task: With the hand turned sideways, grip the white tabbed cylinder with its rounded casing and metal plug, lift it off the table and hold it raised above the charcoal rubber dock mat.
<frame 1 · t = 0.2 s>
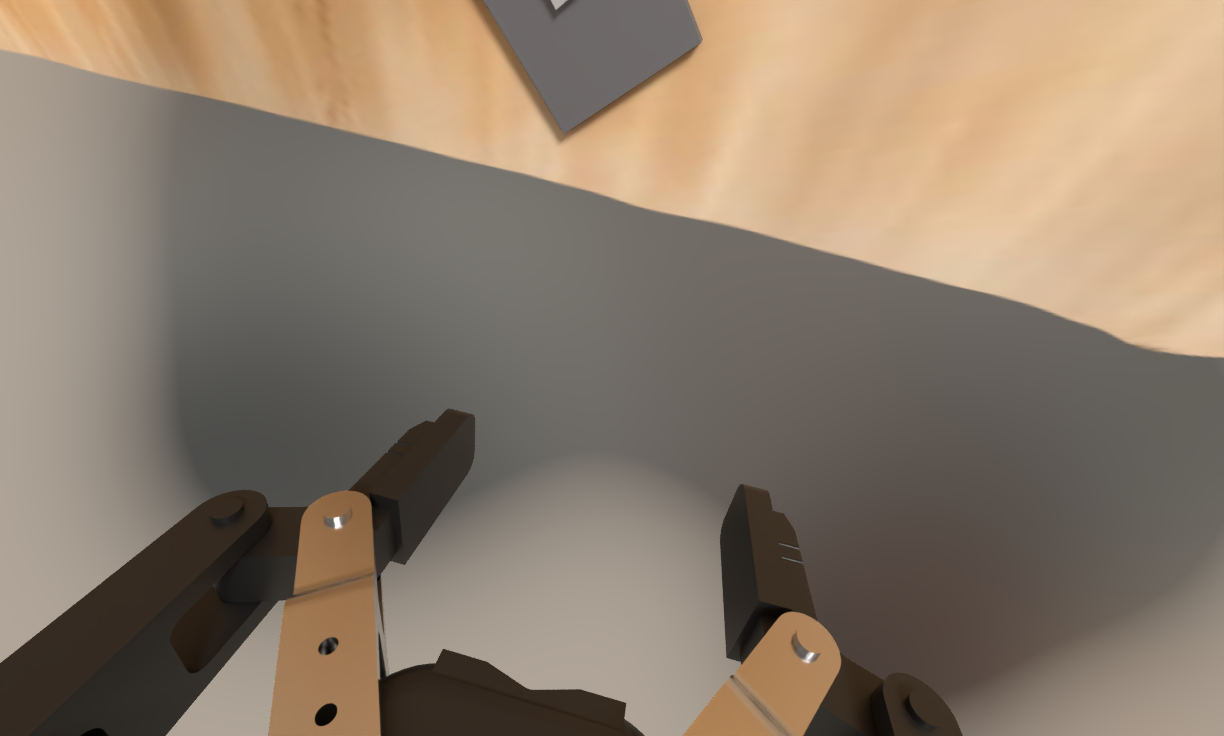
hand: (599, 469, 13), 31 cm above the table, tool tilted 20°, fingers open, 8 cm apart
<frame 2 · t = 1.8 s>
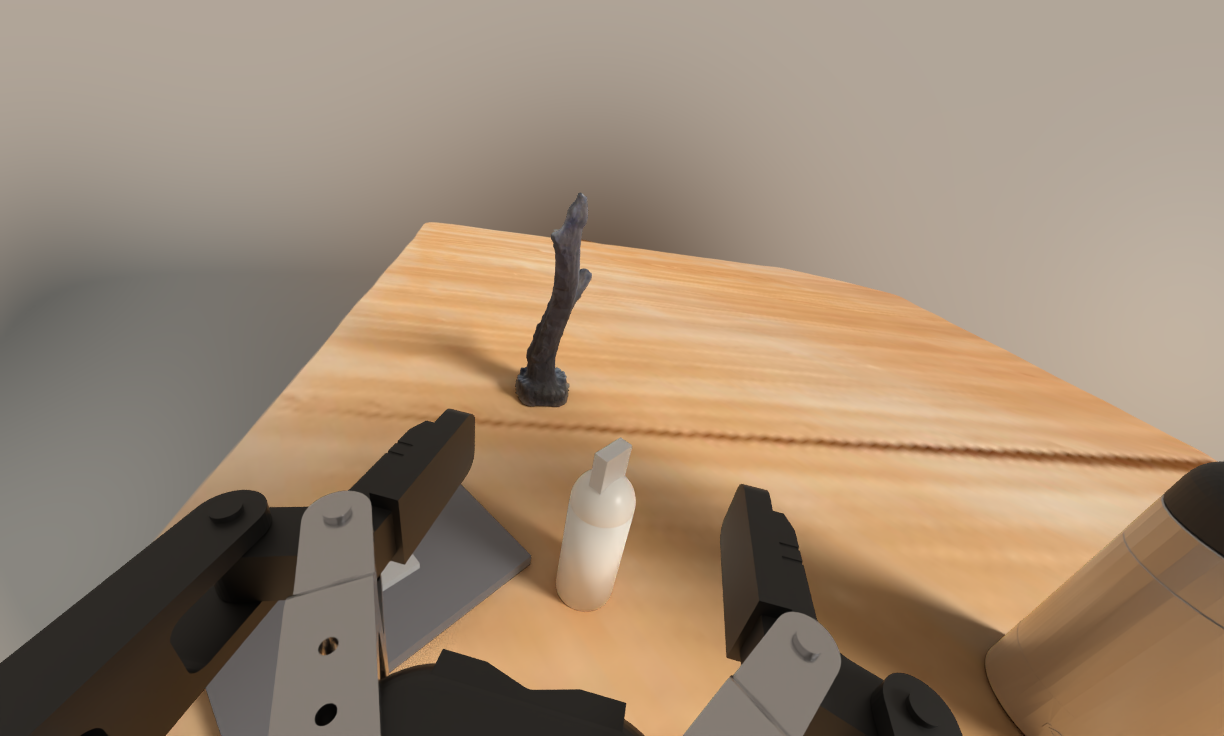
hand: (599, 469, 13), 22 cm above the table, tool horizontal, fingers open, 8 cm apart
bare tree trunk: (547, 400, 53), on the table
dock mat: (375, 584, 30), on the table
white tabbed cylinder: (584, 583, 33), on the table
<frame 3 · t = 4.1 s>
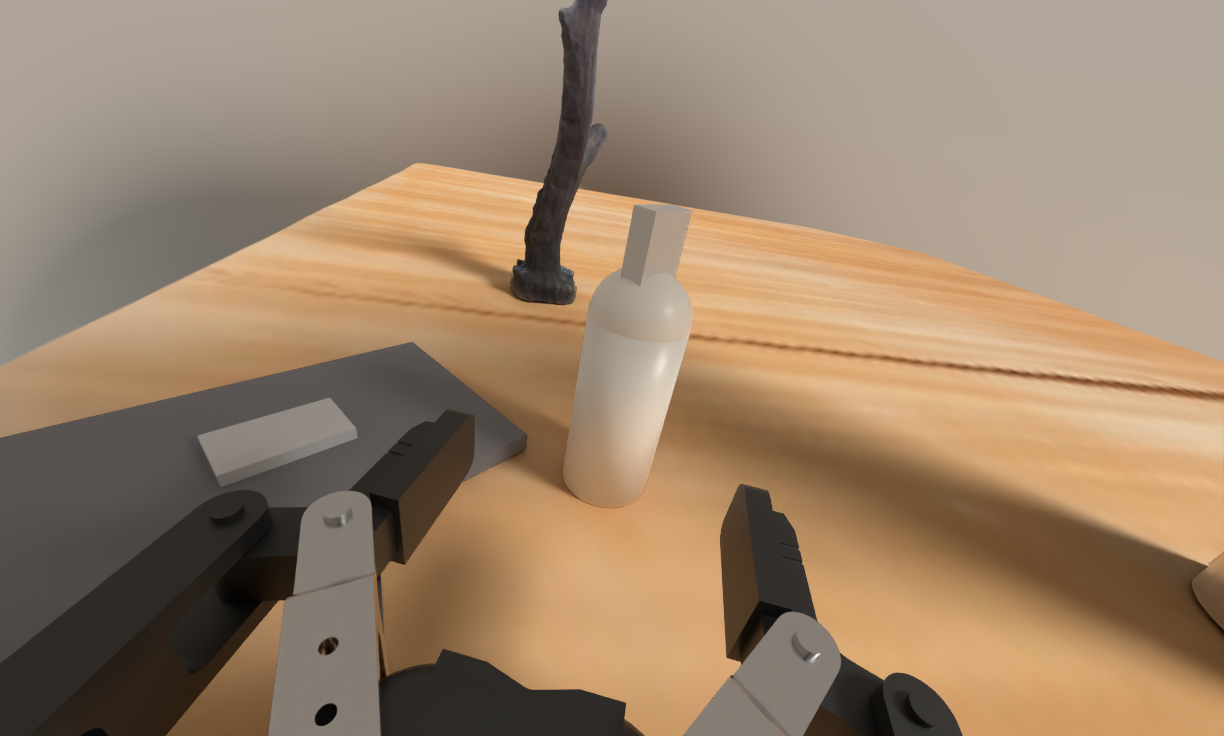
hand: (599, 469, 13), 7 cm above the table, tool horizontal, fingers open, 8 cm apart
bare tree trunk: (550, 299, 43), on the table
dock mat: (287, 458, 20), on the table
white tabbed cylinder: (604, 475, 23), on the table
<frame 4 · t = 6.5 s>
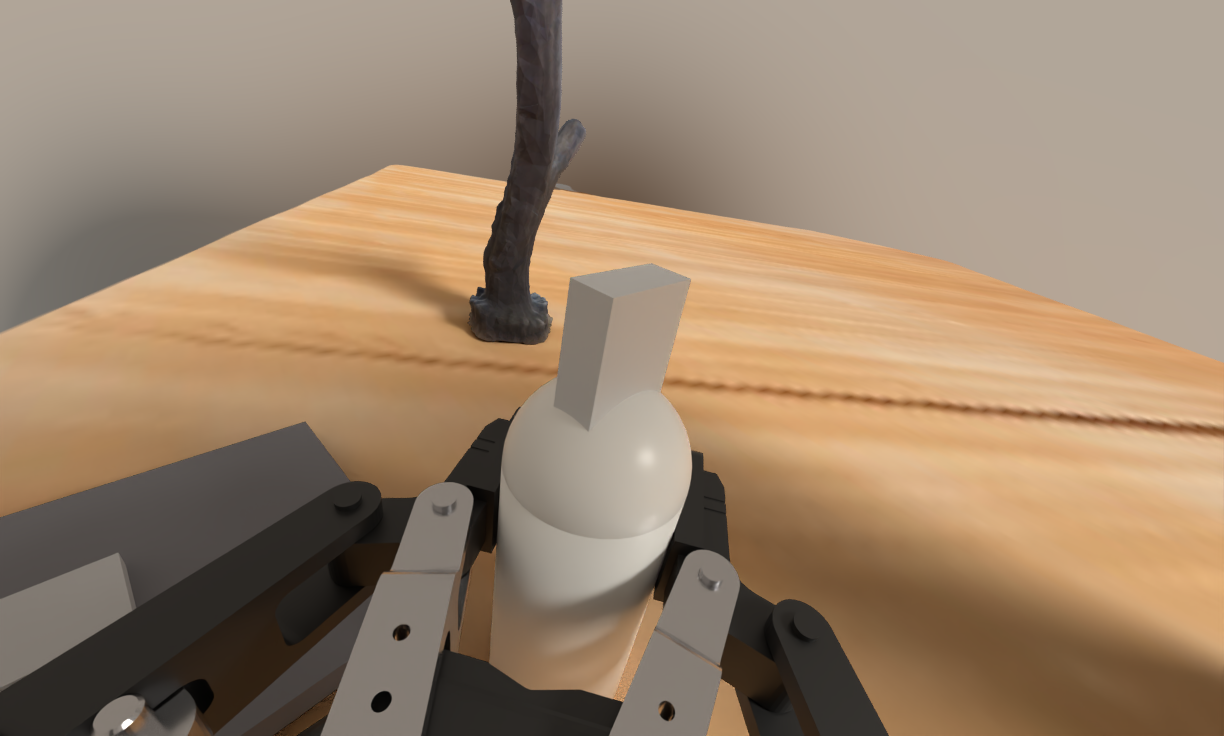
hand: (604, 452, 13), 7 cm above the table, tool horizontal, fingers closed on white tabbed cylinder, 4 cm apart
bare tree trunk: (517, 336, 35), on the table
dock mat: (16, 678, 12), on the table
white tabbed cylinder: (556, 660, 15), on the table, touching gripper
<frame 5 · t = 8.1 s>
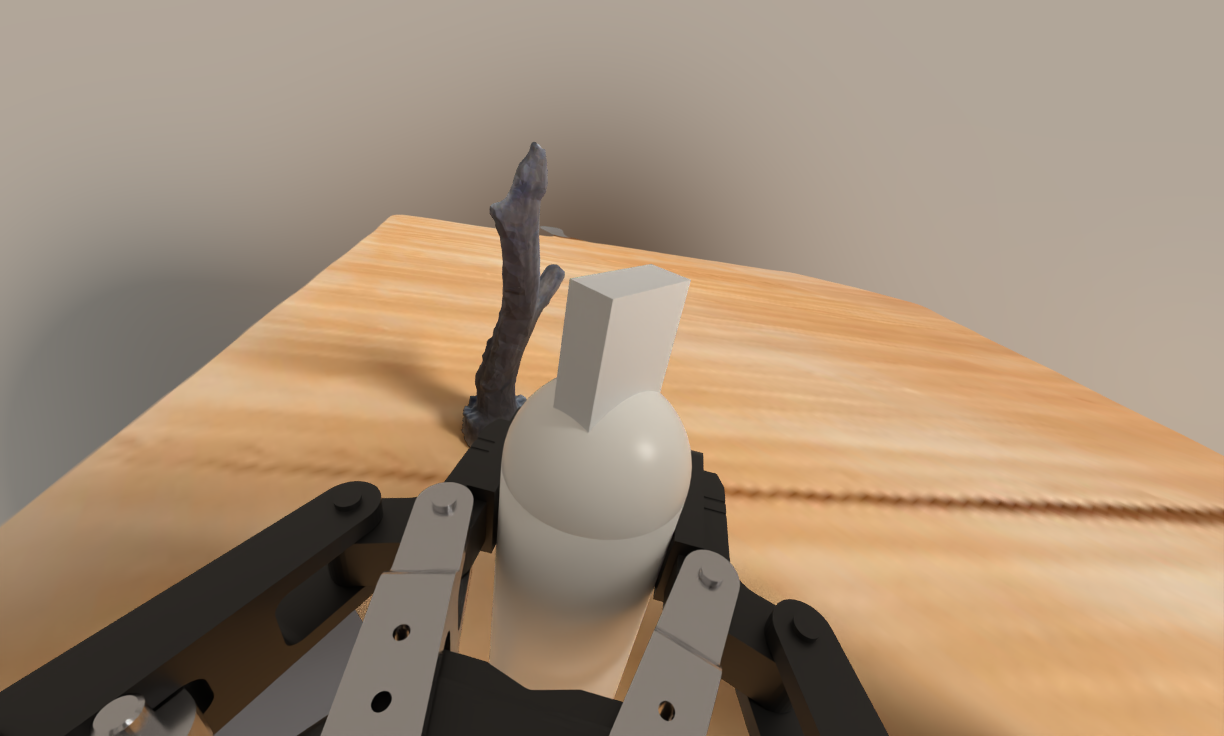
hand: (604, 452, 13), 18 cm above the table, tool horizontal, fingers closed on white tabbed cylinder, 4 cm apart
bare tree trunk: (505, 440, 40), on the table
white tabbed cylinder: (556, 660, 15), point 11 cm above the table, touching gripper
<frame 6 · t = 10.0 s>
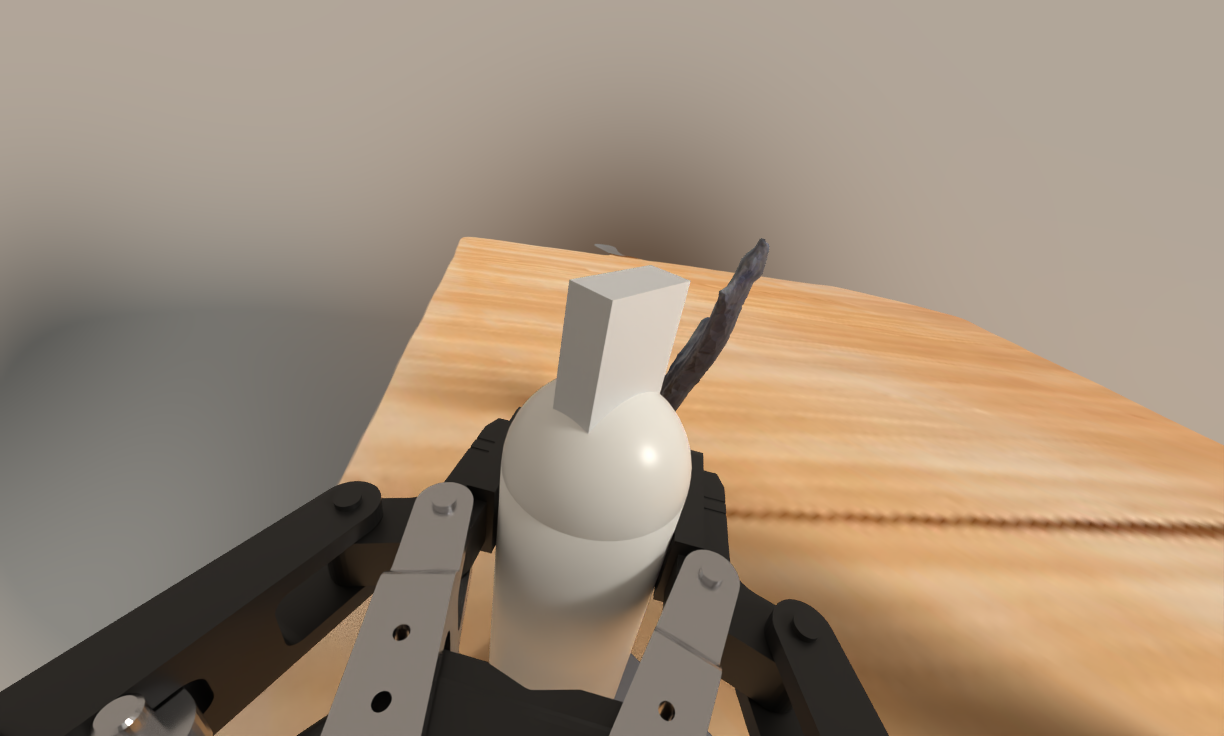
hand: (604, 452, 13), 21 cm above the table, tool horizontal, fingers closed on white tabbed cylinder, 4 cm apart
bare tree trunk: (654, 471, 44), on the table
white tabbed cylinder: (555, 661, 15), point 14 cm above the table, touching gripper
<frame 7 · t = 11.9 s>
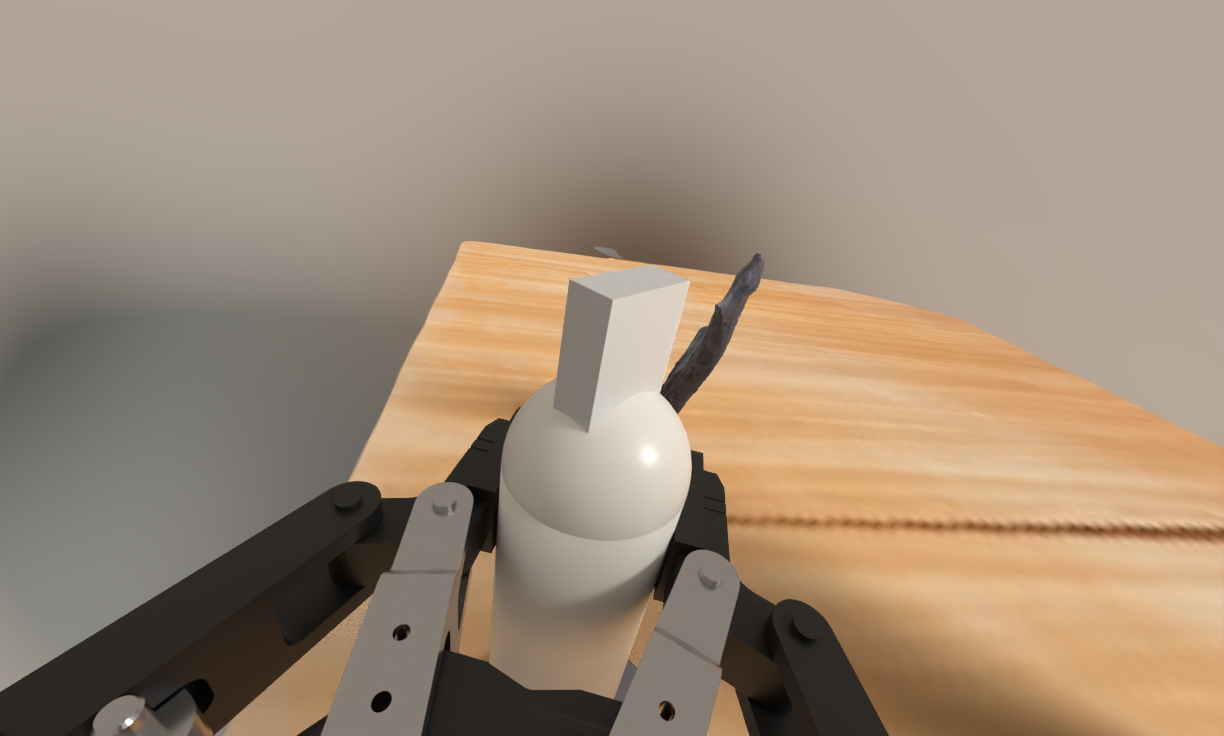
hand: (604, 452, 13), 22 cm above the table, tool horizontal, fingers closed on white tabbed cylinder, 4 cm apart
bare tree trunk: (653, 478, 45), on the table
white tabbed cylinder: (556, 661, 15), point 15 cm above the table, touching gripper
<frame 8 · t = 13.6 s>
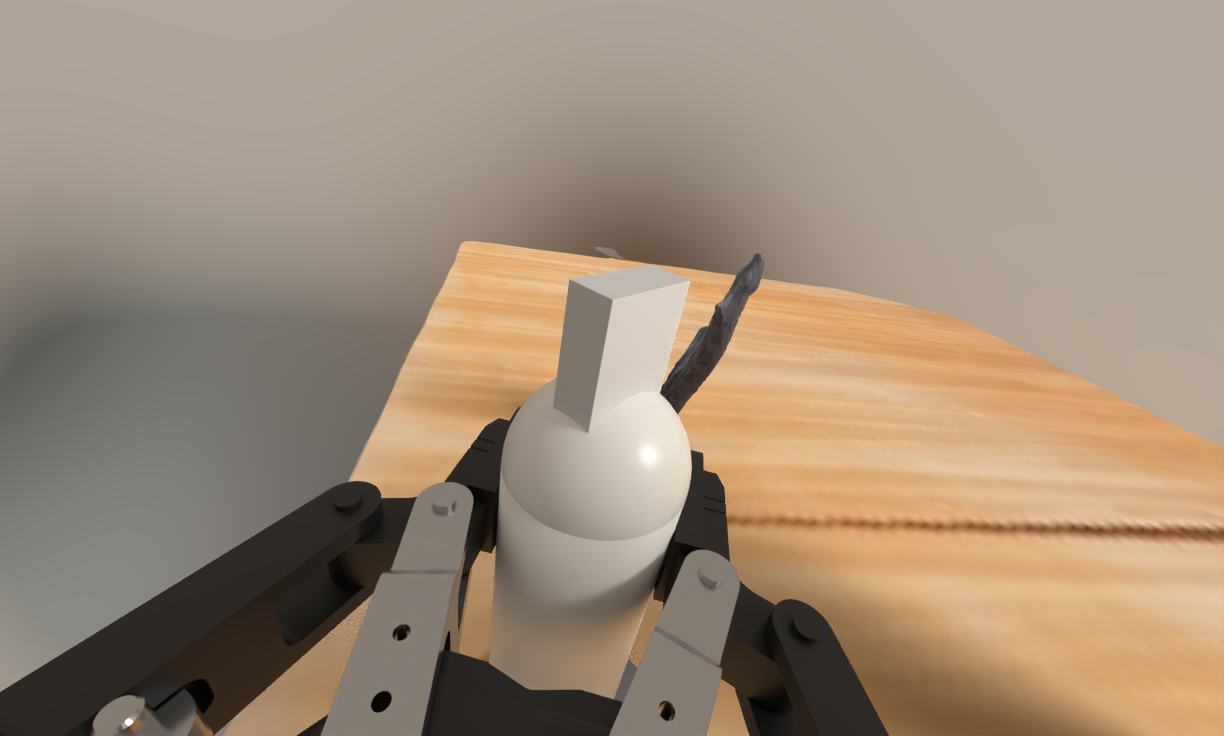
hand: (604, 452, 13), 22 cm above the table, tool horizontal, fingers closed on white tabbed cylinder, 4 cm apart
bare tree trunk: (653, 478, 45), on the table
white tabbed cylinder: (556, 661, 15), point 15 cm above the table, touching gripper
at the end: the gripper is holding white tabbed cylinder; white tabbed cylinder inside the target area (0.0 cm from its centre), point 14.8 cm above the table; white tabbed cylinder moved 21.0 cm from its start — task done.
